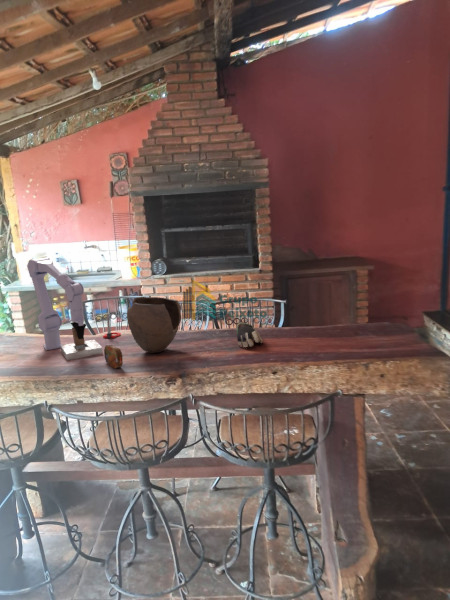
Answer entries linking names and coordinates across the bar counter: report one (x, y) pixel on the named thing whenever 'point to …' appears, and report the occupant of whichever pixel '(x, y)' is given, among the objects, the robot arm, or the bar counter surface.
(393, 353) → the bar counter surface
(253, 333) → the glove
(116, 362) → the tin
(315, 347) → the bar counter surface
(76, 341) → the pin
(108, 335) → the tow hook
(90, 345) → the collar
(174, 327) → the clay pot
